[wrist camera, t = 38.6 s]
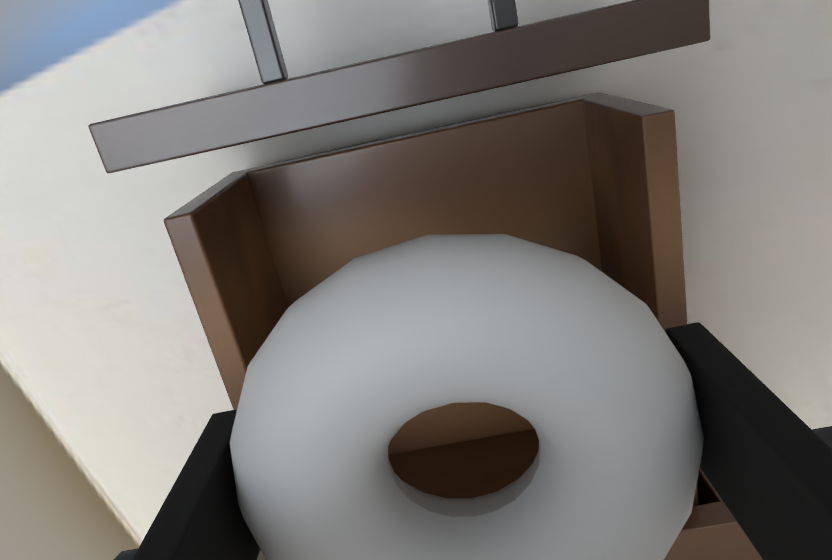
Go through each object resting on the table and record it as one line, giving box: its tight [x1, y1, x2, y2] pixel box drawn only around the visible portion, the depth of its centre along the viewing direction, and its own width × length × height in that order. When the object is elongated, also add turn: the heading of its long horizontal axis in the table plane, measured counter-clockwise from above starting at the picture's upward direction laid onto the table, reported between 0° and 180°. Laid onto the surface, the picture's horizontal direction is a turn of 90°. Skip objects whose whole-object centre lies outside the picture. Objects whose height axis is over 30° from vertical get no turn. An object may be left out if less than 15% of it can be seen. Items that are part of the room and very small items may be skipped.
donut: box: [230, 234, 704, 560], centre depth 13 cm, size 10×4×10 cm
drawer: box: [89, 0, 710, 506], centre depth 19 cm, size 22×15×7 cm, turn 12°
